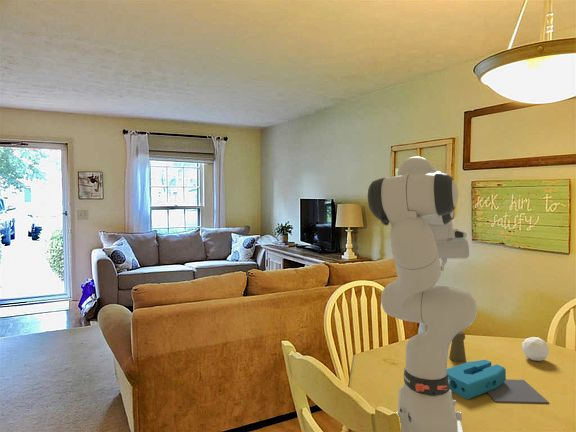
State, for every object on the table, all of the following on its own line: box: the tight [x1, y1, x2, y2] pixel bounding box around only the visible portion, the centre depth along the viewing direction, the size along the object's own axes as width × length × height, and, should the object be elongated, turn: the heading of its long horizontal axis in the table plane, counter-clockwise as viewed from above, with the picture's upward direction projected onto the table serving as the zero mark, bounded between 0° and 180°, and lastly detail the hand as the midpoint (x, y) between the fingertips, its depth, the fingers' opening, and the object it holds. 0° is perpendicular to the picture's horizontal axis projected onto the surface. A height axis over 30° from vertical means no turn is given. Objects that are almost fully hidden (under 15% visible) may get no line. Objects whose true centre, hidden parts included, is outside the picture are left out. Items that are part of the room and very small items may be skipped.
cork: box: [448, 330, 467, 363], centre depth 157 cm, size 6×6×11 cm
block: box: [447, 359, 507, 400], centre depth 135 cm, size 12×5×20 cm
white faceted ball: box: [521, 336, 550, 362], centre depth 157 cm, size 9×9×12 cm
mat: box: [486, 378, 550, 404], centre depth 131 cm, size 15×16×1 cm
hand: (438, 270), depth 145 cm, fingers closed
